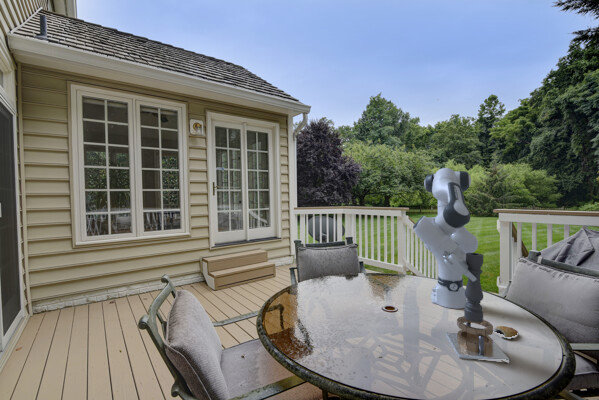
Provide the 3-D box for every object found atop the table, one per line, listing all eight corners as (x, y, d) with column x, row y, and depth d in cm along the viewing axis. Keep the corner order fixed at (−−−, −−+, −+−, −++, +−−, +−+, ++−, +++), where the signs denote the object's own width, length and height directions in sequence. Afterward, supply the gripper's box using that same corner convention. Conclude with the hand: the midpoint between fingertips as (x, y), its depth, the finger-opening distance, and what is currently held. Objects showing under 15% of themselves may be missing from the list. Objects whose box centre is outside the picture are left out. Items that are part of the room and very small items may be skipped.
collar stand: (446, 335, 114) (445, 312, 114) (489, 339, 111) (488, 315, 111) (458, 358, 99) (458, 330, 99) (509, 363, 95) (509, 335, 95)
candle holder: (475, 314, 108) (476, 252, 107) (487, 322, 102) (488, 256, 101) (460, 315, 108) (461, 252, 107) (471, 322, 102) (472, 256, 101)
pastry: (506, 330, 119) (506, 321, 119) (523, 337, 112) (523, 328, 112) (491, 333, 116) (491, 325, 116) (507, 342, 109) (507, 332, 109)
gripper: (448, 249, 100) (480, 280, 94) (457, 241, 116) (484, 267, 111) (435, 260, 103) (465, 290, 97) (445, 250, 119) (471, 276, 113)
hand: (476, 278), depth 104 cm, fingers closed on candle holder, 4 cm apart
